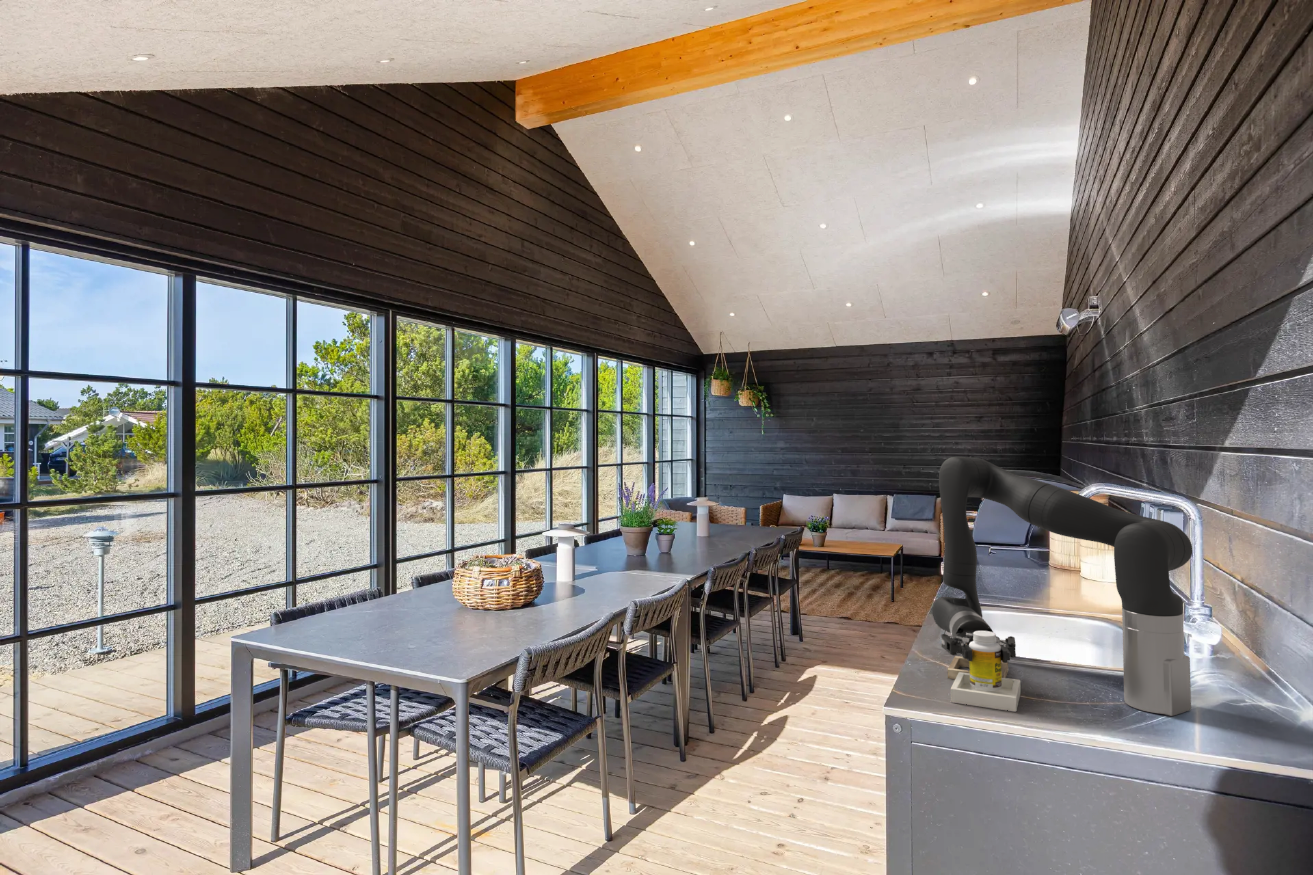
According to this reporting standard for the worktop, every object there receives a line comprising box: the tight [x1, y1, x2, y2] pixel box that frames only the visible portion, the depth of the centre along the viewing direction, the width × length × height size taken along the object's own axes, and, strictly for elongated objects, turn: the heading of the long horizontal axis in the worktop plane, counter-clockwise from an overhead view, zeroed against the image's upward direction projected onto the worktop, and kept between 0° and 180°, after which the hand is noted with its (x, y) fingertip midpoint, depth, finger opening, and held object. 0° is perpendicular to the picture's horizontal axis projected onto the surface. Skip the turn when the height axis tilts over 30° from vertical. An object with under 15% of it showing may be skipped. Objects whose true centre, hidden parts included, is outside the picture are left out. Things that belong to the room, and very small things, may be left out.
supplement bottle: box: [968, 631, 1002, 691], centre depth 140 cm, size 6×6×10 cm
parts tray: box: [950, 672, 1022, 713], centre depth 140 cm, size 11×11×2 cm
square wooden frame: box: [947, 655, 1009, 680], centre depth 153 cm, size 10×10×2 cm
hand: (988, 656), depth 137 cm, fingers closed on supplement bottle, 5 cm apart
